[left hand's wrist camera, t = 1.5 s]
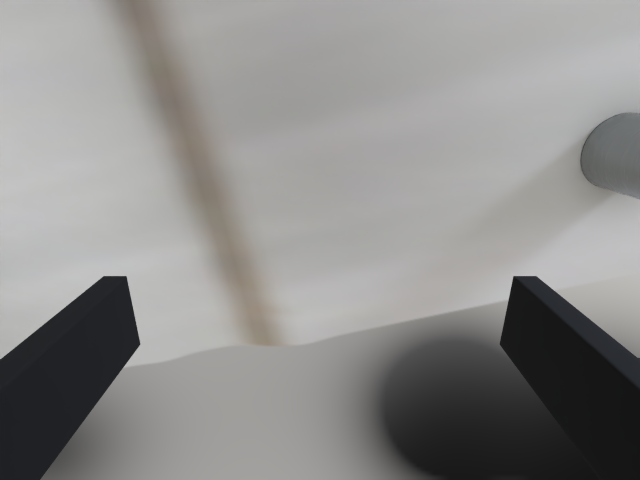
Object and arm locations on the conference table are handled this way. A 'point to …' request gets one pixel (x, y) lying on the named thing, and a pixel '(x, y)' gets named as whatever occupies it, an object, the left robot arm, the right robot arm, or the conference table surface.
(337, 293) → the conference table surface
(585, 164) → the can
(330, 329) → the conference table surface
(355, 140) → the conference table surface
